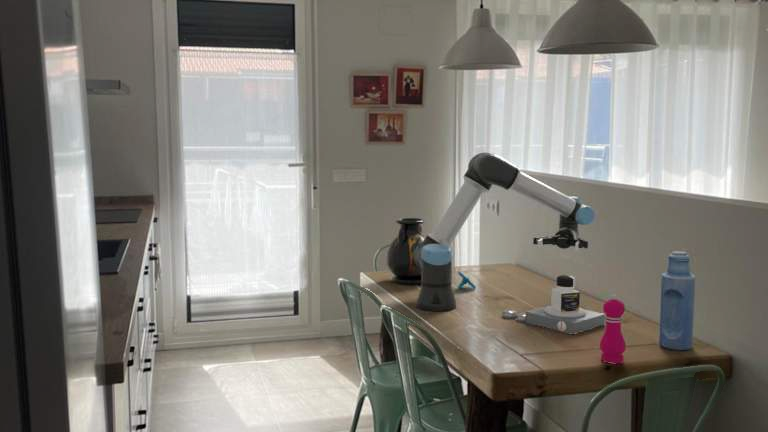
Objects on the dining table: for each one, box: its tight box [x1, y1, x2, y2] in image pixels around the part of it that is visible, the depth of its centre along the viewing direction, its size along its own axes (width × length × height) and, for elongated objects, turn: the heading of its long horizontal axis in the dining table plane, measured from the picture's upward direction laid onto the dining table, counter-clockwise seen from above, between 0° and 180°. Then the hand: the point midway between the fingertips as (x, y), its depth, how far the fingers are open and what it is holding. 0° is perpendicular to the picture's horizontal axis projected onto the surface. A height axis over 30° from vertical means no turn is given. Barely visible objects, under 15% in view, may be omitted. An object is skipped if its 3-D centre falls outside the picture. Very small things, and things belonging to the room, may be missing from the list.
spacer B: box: [516, 313, 526, 323], centre depth 252 cm, size 5×5×2 cm
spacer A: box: [502, 309, 518, 320], centre depth 257 cm, size 5×5×2 cm
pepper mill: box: [599, 294, 627, 364], centre depth 206 cm, size 7×7×20 cm
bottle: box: [658, 250, 696, 352], centre depth 219 cm, size 10×10×30 cm
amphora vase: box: [385, 217, 426, 286], centre depth 315 cm, size 22×22×28 cm
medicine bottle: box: [550, 274, 581, 313], centre depth 246 cm, size 7×7×12 cm
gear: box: [457, 271, 477, 290], centre depth 302 cm, size 11×6×10 cm
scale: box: [525, 305, 606, 334], centre depth 246 cm, size 18×20×5 cm
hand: (557, 245), depth 260 cm, fingers open, 13 cm apart
